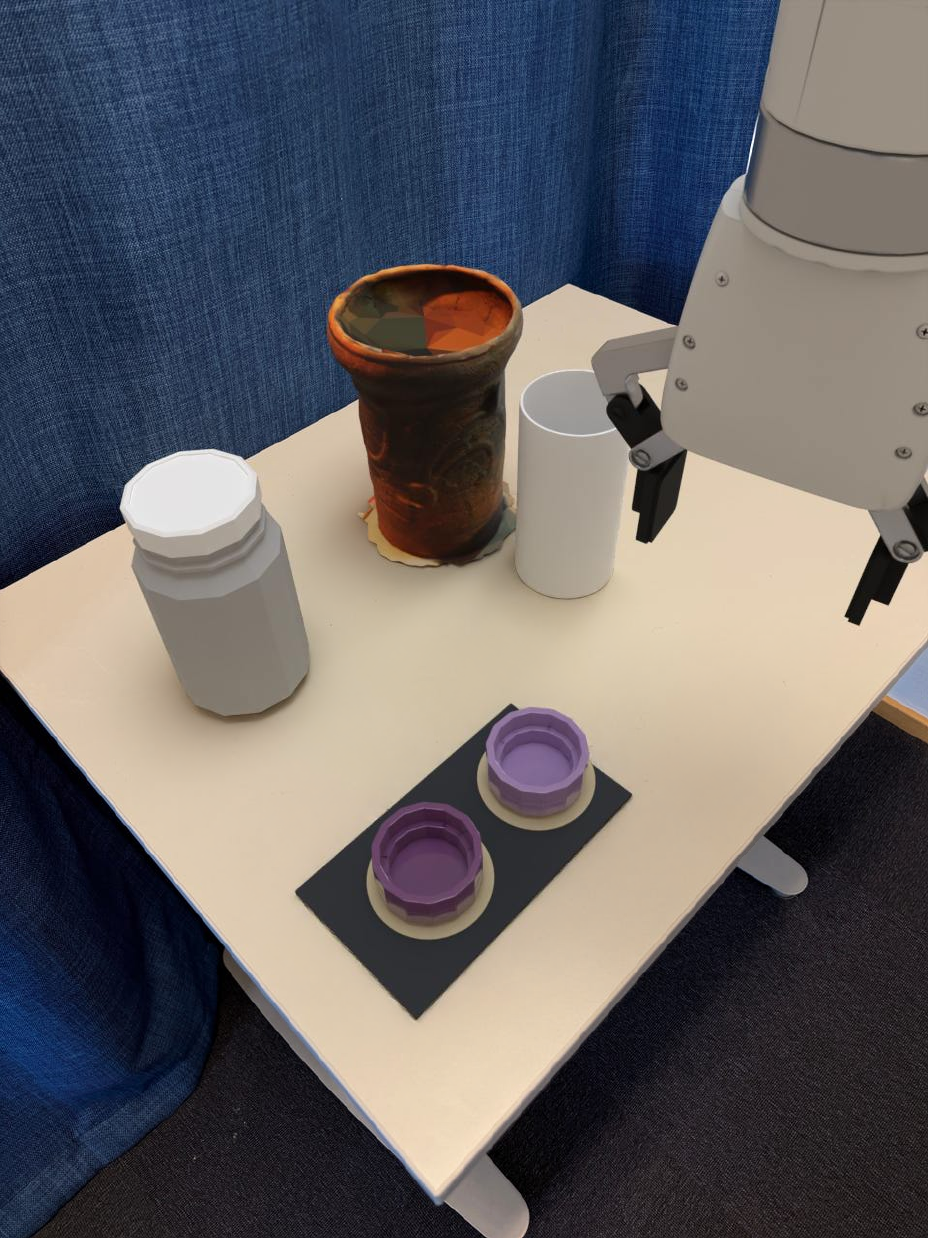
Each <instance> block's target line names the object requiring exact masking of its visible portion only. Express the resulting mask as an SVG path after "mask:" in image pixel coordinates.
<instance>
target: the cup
mask: <svg viewBox="0 0 928 1238" xmlns="http://www.w3.org/2000/svg"><path fill="white" fill-rule="evenodd" d="M519 398H520V399H519V405H518V435H517V436H518V439H517V472H516V473H517V475H516V478H517V479H516V481H517V482H516V508H515V509H516V527H515V551H514V552H515V553H514V565H515V570H516V573H517V575H518V577H519V578H520V580H521V581H522V582H523V583H524V584H525V585H526V586H527V587H529V588H530V589H531V590H533V591H535V592H537V593H538V594H542V595H544V596H547V597H551V598H555V599H566V600H567V599H569V600H571V599H578V598H583V597H584V598H585V597H587V596H589V595H592V594H595V593H596V592H598V591H600V590H601V589H603V588H604V587H605V586H606V585H607V584H608V582H609V581H610V580H611V578H612V575H613V572H614V567H615V562H616V561H615V560H616V555H617V548H618V540H619V531H620V527H621V526H620V525H621V520H622V519H621V518H622V513H623V512H622V511H623V505H624V497H625V490H626V485H627V484H626V483H627V475H628V470H629V468H628V467H629V463H630V461H629V452H630V450H631V448H630V447H629V446H628V444H627V443H626V441H625V440H624V439H623V437H622V436H621V434H620V433H619V432H618V430H617V429H616V427H615V426H614V424H613V423H612V422H611V420H610V419H609V417H608V415H607V413H606V407H607V405H608V402H607V399H606V397H605V396H603V394H602V392H601V389H600V386H599V384H598V381H597V378H596V376H595V373H594V370H591V369H578V368H574V369H573V368H570V369H569V368H568V369H561V370H555V371H551V372H548V373H544V374H543V375H540V376H538V377H536V378H534V379H533V380H531V381H530V382H529V383H527V385H526V386H525V387H524V388H523V390H522V392H521V394H520V397H519Z"/></svg>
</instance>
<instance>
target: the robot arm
mask: <svg viewBox="0 0 928 1238" xmlns="http://www.w3.org/2000/svg"><path fill="white" fill-rule="evenodd" d="M766 68H767V69H766V72H765V75H764V82H763V88H762V92H761V98H760V101H759V106H758V110H757V116H756V121H755V126H754V131H753V135H752V141H751V146H750V151H749V155H748V161H747V166H746V171H745V173H744V174H742V175H740V176H739V177H737V178H736V179H734V181H733V182H732V183H731V185H730V187H729V189H728V190H727V191H726V192H725V194H724V195H723V197H722V199H721V201H720V204H719V206H718V209H717V211H716V213H715V216H714V218H713V219H712V220H713V221H712V223H711V226H710V229H709V231H708V234H707V237H706V239H705V241H704V244H703V247H702V250H701V253H700V255H699V259H698V262H697V264H696V268H695V271H694V274H693V277H692V280H691V283H690V286H689V289H688V293H687V296H686V299H685V303H684V306H683V309H682V313H681V317H680V320H679V323H678V325H675V326H670V327H666V328H661V329H655V330H651V331H646V332H641V333H637V334H631V335H626V336H622V337H621V336H620V337H617V338H616V337H615V338H611V339H608V340H607V341H606V342H604V343H603V345H601V347H600V348H599V349H598V350H597V351H596V352H594V354H593V355H592V356H591V360H590V363H591V368H592V371H594V373H595V376H596V378H597V381H598V384H599V386H600V389H601V392H602V394H603V396H605V397H606V399H607V402H608V405H607V407H606V413H607V415H608V417H609V419H610V420H611V422H612V423H613V424H614V426H615V427H616V429H617V430H618V432H619V433H620V434H621V436H622V437H623V439H624V440H625V441H626V443H627V444H628V446H629V447H630V448H631V449H630V452H629V463H630V464H631V465H632V466H633V467H634V468H635V469H636V476H635V482H634V488H633V496H632V503H631V511H633V512H634V513H635V512H636V513H638V514H639V515H638V521H637V527H636V534H635V541H637V542H640V543H642V544H645V545H647V544H648V543H651V544H652V543H653V542H654V541H655V540H656V538H657V536H658V535H659V534H660V532H661V531H662V530H663V528H664V527H665V526H666V524H667V522H668V521H669V520H670V518H672V515H674V512H675V511H676V509H677V506H678V501H679V496H680V491H681V486H682V481H683V476H684V471H685V466H686V460H687V455H688V452H690V453H693V454H695V455H697V456H700V457H703V458H706V459H709V460H711V461H714V462H717V463H720V464H722V465H725V466H728V467H731V468H734V469H737V470H739V471H742V472H746V473H749V474H751V475H754V476H757V477H759V478H763V479H766V480H769V481H772V482H775V483H778V484H781V485H784V486H787V487H789V488H793V489H796V490H799V491H802V492H805V493H808V494H811V495H814V496H817V497H820V498H823V499H827V500H830V501H832V502H836V503H839V504H842V505H844V506H845V505H846V506H849V507H853V508H856V509H862V510H865V511H867V512H868V513H869V516H870V517H871V520H872V521H873V523H874V525H875V527H876V529H877V531H878V533H879V536H878V538H877V541H876V543H875V545H874V547H873V549H872V552H871V553H870V556H869V557H868V559H867V562H866V565H865V567H864V570H863V572H862V574H861V576H860V578H859V581H858V583H857V586H856V588H855V591H854V593H853V595H852V597H851V599H850V601H849V604H848V607H847V609H846V611H845V613H844V616H843V617H844V618H846V619H847V623H850V624H852V625H855V626H857V627H861V623H862V622H863V619H864V617H865V615H866V613H867V610H868V608H869V606H870V604H871V602H872V601H875V602H877V603H880V604H883V605H885V606H888V607H889V606H890V604H891V602H892V600H893V597H894V596H895V593H896V591H897V589H898V587H899V585H900V583H901V581H902V579H903V577H904V574H905V573H906V570H907V568H908V566H909V564H914V563H916V562H918V561H920V560H921V559H922V557H923V555H924V553H927V552H928V482H927V479H926V477H925V475H926V474H927V471H928V0H780V2H779V8H778V11H777V17H776V21H775V27H774V32H773V37H772V42H771V47H770V53H769V62H768V65H767V67H766ZM662 370H666V375H665V380H664V381H665V382H664V386H663V391H662V396H661V397H662V398H661V404H660V408H659V406H658V404H656V402H655V401H654V399H653V397H651V395H650V393H649V392H648V390H647V389H646V388H645V386H643V385H642V384H641V383H640V382H639V380H640V377H639V374H644V373H651V372H657V371H662Z"/></svg>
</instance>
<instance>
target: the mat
mask: <svg viewBox="0 0 928 1238" xmlns="http://www.w3.org/2000/svg"><path fill="white" fill-rule="evenodd" d="M517 710H520V709H519V708H518V707H517V706H516V705H514V704H513V703H512V702H511V703H509V704H508V705H507V706H506V707H504V708H503V709H502V710H501V711H500V712H499V713H498V714H496V715H495V716H494V717H493V718H492V719H491V720H489V722H487V723H485V725H484V726H482V727H481V728H480V729H479V730H478V731H477V732H476V733H475V734H474V735H472V736H471V737H470V738H469V739H468V740H466V742H464V743H463V744H462V745H461V746H460V747H459V748H457V749H456V750H455V751H454V752H453V753H452V754H450V755H449V756H448V757H447V758H446V759H445V760H443V762H441V763H440V764H439V765H437V767H436V768H434V769H433V770H432V771H431V772H430V773H429V774H427V775H426V776H425V777H424V778H423V779H422V780H420V781H419V782H418V783H417V784H416V785H414V787H412V788H411V789H410V790H409V791H408V792H407V793H406V794H405V795H403V796H402V797H400V799H399V800H398V801H396V802H395V803H394V804H393V805H392V806H390V807H389V808H388V809H387V810H386V811H385V812H384V813H383V814H381V815H380V816H379V817H378V818H377V819H376V820H375V821H373V822H372V823H371V824H370V825H369V826H368V827H366V828H365V829H364V830H363V831H362V832H361V833H360V834H359V835H357V836H356V837H355V838H354V839H353V840H351V841H350V842H349V843H348V844H347V845H346V846H345V847H343V848H342V849H341V850H340V851H339V852H338V853H337V854H335V855H334V856H333V857H332V858H331V859H330V860H328V861H327V862H326V863H325V864H324V865H323V866H322V867H320V868H319V869H318V870H317V871H315V873H313V874H312V875H311V876H310V877H309V878H308V879H306V881H304V882H303V883H302V884H301V885H299V886H298V887H297V888H296V889H295V890H294V893H295V895H296V896H297V897H298V898H299V899H300V900H301V901H302V902H303V903H304V905H305V906H306V907H308V909H309V910H311V911H312V913H313V914H314V915H315V916H316V917H317V918H318V919H319V920H320V921H321V922H322V923H323V924H324V925H325V926H326V928H327V929H328V930H330V932H332V934H333V935H334V936H335V937H336V938H337V939H338V940H339V941H340V942H341V944H343V945H344V946H345V947H346V948H347V949H348V950H349V951H350V953H351V954H353V955H354V957H355V958H356V959H357V960H358V961H359V962H360V963H361V964H362V965H363V966H364V968H366V970H368V971H369V972H370V973H371V974H372V976H373V977H374V978H375V979H376V980H377V981H378V982H379V983H380V984H381V985H382V986H383V987H384V988H385V989H386V991H388V992H389V993H390V994H391V995H392V996H393V997H394V998H395V1000H396V1001H397V1002H398V1003H399V1004H400V1005H401V1006H402V1007H403V1008H404V1009H405V1010H406V1011H407V1012H408V1013H409V1015H411V1016H412V1017H413V1019H415V1021H416V1020H418V1019H419V1018H420V1017H421V1016H422V1015H423V1014H424V1013H425V1012H426V1011H427V1010H428V1009H429V1008H430V1007H431V1006H432V1005H433V1003H435V1002H436V1001H437V1000H438V998H439V997H440V996H442V994H443V993H444V992H445V991H447V989H448V988H449V987H450V986H451V985H452V984H453V983H454V982H455V981H456V980H457V979H458V978H459V977H460V976H461V975H462V973H463V972H464V971H465V970H466V969H468V967H470V965H471V964H472V963H473V962H474V961H475V960H476V959H477V958H478V957H479V956H480V955H481V954H482V953H483V952H484V951H485V950H486V949H487V947H489V946H490V945H491V943H492V942H494V941H495V939H497V937H498V936H499V935H500V934H501V933H502V932H503V931H504V930H505V929H506V928H507V927H508V926H509V925H510V924H511V923H512V922H513V921H514V920H515V919H516V918H517V917H518V916H519V915H520V914H521V912H523V910H524V909H525V908H526V907H527V906H528V905H529V904H530V903H531V902H532V901H533V900H534V899H535V898H536V897H537V896H538V895H539V894H540V893H541V892H542V891H543V889H544V888H546V886H548V885H549V883H551V881H552V880H553V879H554V878H555V877H556V876H557V875H558V874H559V873H560V872H561V871H562V870H563V869H564V868H565V867H566V866H567V865H568V864H569V862H571V861H572V860H573V858H575V856H576V855H578V854H579V852H580V851H581V850H582V849H583V848H584V847H585V846H586V845H587V844H588V843H589V842H590V841H591V840H592V839H593V838H594V837H595V836H596V835H597V834H598V833H599V832H600V831H601V829H602V828H603V827H605V826H606V824H607V823H608V822H609V821H610V820H611V819H612V818H613V817H614V816H615V815H616V814H617V813H618V812H619V811H620V810H621V809H622V808H623V807H624V806H625V805H626V804H627V803H628V802H629V800H630V799H631V798H632V797H633V793H631V792H630V791H629V790H628V789H626V787H624V786H622V785H621V784H620V783H618V781H616V780H614V779H613V778H612V777H610V775H608V774H606V773H605V772H604V771H602V770H601V769H600V768H598V767H597V766H596V765H595V764H593V763H592V762H591V759H590V758H589V761H588V768H587V775H586V780H585V783H584V786H583V789H582V792H581V795H580V796H579V797H578V798H577V799H576V800H575V801H574V802H573V803H572V804H571V805H569V806H568V807H567V808H566V809H565V810H562V811H559V812H555V813H552V814H549V815H546V816H535V815H526V814H520V813H518V812H516V811H514V810H512V809H511V808H509V807H507V806H505V805H503V804H502V803H501V802H500V801H499V800H498V799H497V797H496V796H495V794H494V793H493V791H492V790H491V789H490V787H489V785H488V779H487V770H486V742H487V740H488V737H489V735H490V733H491V730H492V728H493V726H494V725H495V724H496V723H497V722H499V721H500V720H501V719H502V718H504V717H505V716H506V715H507V714H508V713H510V712H513V711H517ZM421 802H432V803H441V804H447V805H450V806H451V807H453V808H455V809H457V810H458V811H460V812H462V813H464V814H465V815H467V816H468V817H469V819H470V820H471V822H472V823H473V824H474V826H475V827H476V829H477V830H478V832H479V833H480V836H481V844H482V854H483V881H482V883H481V886H480V889H479V891H478V894H477V896H476V899H475V900H474V902H473V903H472V904H471V905H469V906H468V907H467V908H466V909H465V910H464V911H463V912H462V913H461V914H460V915H459V916H457V917H456V918H453V919H450V920H447V921H444V922H440V923H437V924H434V925H433V924H432V925H430V924H422V923H414V922H408V921H406V920H404V919H403V918H401V917H400V916H398V915H397V914H395V913H394V912H392V911H391V910H389V909H388V908H387V906H386V904H385V903H384V901H383V899H382V897H381V895H380V894H379V892H378V890H377V887H376V882H375V877H374V873H373V869H372V843H373V841H374V839H375V837H376V835H377V833H378V831H379V829H380V826H381V824H382V823H383V822H384V821H386V820H387V819H388V818H389V817H391V816H392V815H393V814H394V813H395V812H397V811H398V810H399V809H401V808H404V807H407V806H410V805H414V804H417V803H421Z"/></svg>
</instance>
